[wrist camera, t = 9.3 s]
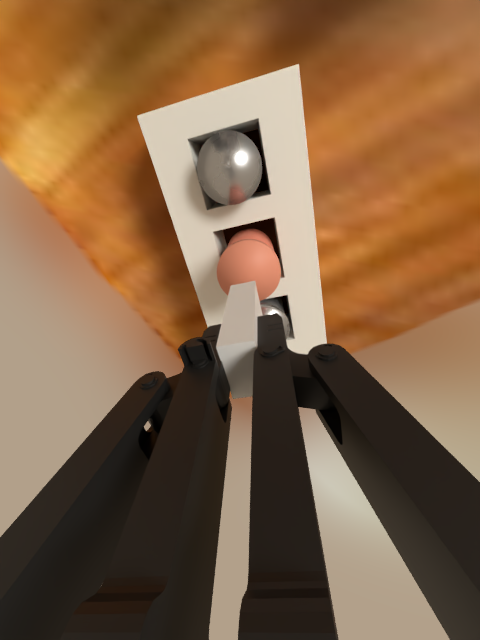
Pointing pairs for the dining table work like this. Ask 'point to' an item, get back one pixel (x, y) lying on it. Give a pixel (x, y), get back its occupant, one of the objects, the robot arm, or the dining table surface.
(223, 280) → the pink short cylinder
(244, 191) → the plunger
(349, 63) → the dining table surface
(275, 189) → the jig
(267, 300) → the plunger
